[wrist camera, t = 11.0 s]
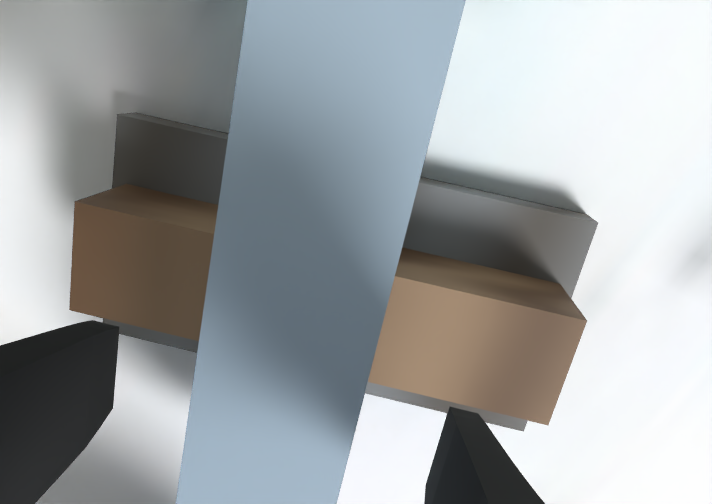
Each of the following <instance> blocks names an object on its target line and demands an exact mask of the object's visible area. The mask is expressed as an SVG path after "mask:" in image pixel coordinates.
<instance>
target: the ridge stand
mask: <svg viewBox="0 0 712 504" xmlns="http://www.w3.org/2000/svg"><path fill="white" fill-rule="evenodd" d="M227 141H228V133H223V132H219V131H214V130H210V129H205V128H201V127H196V126H192V125H188V124H183V123H179V122H174V121H170V120H165V119H161V118H156V117H152V116H148V115H143V114H139V113H127V114H117V128H116V142H115V156H114V171H113V185H112V189H110V190H107V191H104V192H102V193H99V194H96V195H93V196H90V197H87V198H84V199H81V200H78V201H75V208H74V228H73V249H72V269H71V290H70V310H71V311H75V312H80V313H84V314H88V315H92V316H96V317H100V318H103V323H106V324H110V325H114V326H118V327H119V334H122V335H126V336H131V337H135V338H139V339H143V340H147V341H151V342H155V343H160V344H164V345H168V346H172V347H176V348H180V349H184V350H188V351H193V352H197V351H198V344H199V337H200V330H201V323H202V316H203V309H204V302H205V295H206V288H207V281H208V274H209V267H210V260H211V253H212V246H213V239H214V232H215V225H216V218H217V211H218V204H219V197H220V190H221V183H222V176H223V169H224V162H225V155H226V148H227ZM597 225H598V222H596V221H595V220H594V219H592V218H591V217H590V216H588V215H587V214H583V213H578V212H574V211H569V210H565V209H561V208H556V207H552V206H547V205H543V204H538V203H534V202H530V201H525V200H521V199H516V198H512V197H507V196H503V195H498V194H494V193H490V192H485V191H481V190H476V189H472V188H467V187H463V186H458V185H454V184H450V183H445V182H441V181H436V180H432V179H427V178H423V177H420V180H419V184H418V188H417V192H416V195H415V199H414V203H413V207H412V211H411V215H410V219H409V223H408V227H407V231H406V234H405V238H404V242H403V246H402V250H401V254H400V258H399V262H398V266H397V270H396V273H395V277H394V281H393V285H392V289H391V293H390V297H389V301H388V305H387V308H386V312H385V316H384V320H383V324H382V328H381V332H380V336H379V340H378V344H377V347H376V351H375V355H374V359H373V363H372V367H371V371H370V375H369V379H368V383H367V386H366V390H365V393H367V394H371V395H375V396H379V397H383V398H387V399H391V400H395V401H400V402H404V403H408V404H412V405H416V406H420V407H424V408H429V409H433V410H437V411H441V412H445V413H448V410H449V407H454V408H458V409H462V410H466V411H471V412H475V413H478V414H479V415H480V416H481V418H482V419H483V420H484V422H487V423H491V424H495V425H499V426H503V427H507V428H511V429H516V430H520V431H524V429H525V426H526V423H527V420H528V421H533V422H537V423H541V424H545V425H548V424H549V422H550V419H551V416H552V414H553V411H554V408H555V405H556V403H557V400H558V397H559V395H560V392H561V389H562V387H563V384H564V381H565V379H566V376H567V373H568V371H569V368H570V365H571V362H572V360H573V357H574V354H575V352H576V349H577V346H578V344H579V341H580V338H581V336H582V333H583V330H584V328H585V325H586V322H587V320H586V319H585V317H584V316H583V315H582V313H581V312H580V310H579V309H578V308H577V306H576V305H575V304H574V302H573V301H572V299H571V297H572V295H573V292H574V289H575V286H576V283H577V281H578V278H579V275H580V272H581V269H582V267H583V264H584V261H585V258H586V255H587V253H588V250H589V247H590V244H591V241H592V239H593V236H594V233H595V230H596V227H597Z"/></svg>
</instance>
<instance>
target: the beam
mask: <svg viewBox="0 0 712 504" xmlns="http://www.w3.org/2000/svg"><path fill="white" fill-rule="evenodd" d="M465 1H466V0H248V2H247V9H246V16H245V23H244V30H243V37H242V44H241V50H240V57H239V64H238V71H237V78H236V85H235V92H234V99H233V106H232V113H231V120H230V127H229V134H228V141H227V148H226V155H225V162H224V169H223V176H222V183H221V190H220V197H219V204H218V211H217V218H216V225H215V232H214V239H213V246H212V253H211V260H210V267H209V274H208V281H207V288H206V295H205V302H204V309H203V316H202V323H201V330H200V337H199V344H198V351H197V358H196V365H195V372H194V379H193V386H192V393H191V400H190V407H189V414H188V421H187V428H186V435H185V442H184V449H183V456H182V463H181V470H180V477H179V484H178V491H177V498H176V504H336V503H337V499H338V496H339V492H340V488H341V484H342V480H343V476H344V472H345V468H346V464H347V460H348V457H349V453H350V449H351V445H352V441H353V437H354V433H355V429H356V425H357V421H358V418H359V414H360V410H361V406H362V402H363V398H364V394H365V390H366V386H367V383H368V379H369V375H370V371H371V367H372V363H373V359H374V355H375V351H376V347H377V344H378V340H379V336H380V332H381V328H382V324H383V320H384V316H385V312H386V308H387V305H388V301H389V297H390V293H391V289H392V285H393V281H394V277H395V273H396V270H397V266H398V262H399V258H400V254H401V250H402V246H403V242H404V238H405V234H406V231H407V227H408V223H409V219H410V215H411V211H412V207H413V203H414V199H415V195H416V192H417V188H418V184H419V180H420V176H421V172H422V168H423V164H424V160H425V156H426V153H427V149H428V145H429V141H430V137H431V133H432V129H433V125H434V121H435V118H436V114H437V110H438V106H439V102H440V98H441V94H442V90H443V86H444V82H445V79H446V75H447V71H448V67H449V63H450V59H451V55H452V51H453V47H454V43H455V40H456V36H457V32H458V28H459V24H460V20H461V16H462V12H463V8H464V5H465Z"/></svg>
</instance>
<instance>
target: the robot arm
mask: <svg viewBox="0 0 712 504" xmlns="http://www.w3.org/2000/svg"><path fill="white" fill-rule="evenodd" d="M118 339H119V327H118V326H114V325H110V324H106V323H101V322H97V321H93V320H92V321H86V322H81V323H77V324H73V325H69V326H66V327H62V328H59V329H55V330H52V331H48V332H45V333H41V334H38V335H35V336H31V337H28V338H24V339H21V340H18V341H14V342H11V343H7V344H4V345H1V346H0V504H35V503H36V502H37V500H38V499H39V498H40V497H41V496H42V495H43V494H44V493H45V492H46V491H47V490H48V489H49V487H50V486H51V485H52V484H53V483H54V482H55V481H56V480H57V479H58V478H59V477H60V475H61V474H62V473H63V472H64V471H65V470H66V469H67V468H68V467H69V465H70V464H71V463H72V462H73V461H74V460H75V459H76V458H77V457H78V455H79V454H80V453H81V452H82V451H83V450H84V449H85V448H86V446H87V445H88V443H89V442H90V441H91V439H92V438H93V436H94V435H95V434H96V432H97V431H98V430H99V428H100V427H101V425H102V424H103V422H104V421H105V419H106V418H107V416H108V415H109V413H110V412H111V410H112V409H113V400H114V388H115V376H116V363H117V351H118ZM425 504H545V503H544V502H543V501H542V499H541V498H540V497H539V496H538V495H537V493H536V492H535V491H534V489H533V488H532V487H531V486H530V484H529V483H528V482H527V480H526V479H525V478H524V477H523V475H522V474H521V473H520V471H519V470H518V468H517V467H516V466H515V464H514V463H513V462H512V460H511V459H510V457H509V456H508V455H507V453H506V452H505V450H504V449H503V448H502V446H501V445H500V443H499V442H498V440H497V439H496V438H495V436H494V435H493V433H492V432H491V430H490V429H489V427H488V426H487V424H486V423H485V422H484V420H483V419H482V418H481V416H480V415H479V414H478V413H475V412H471V411H466V410H462V409H458V408H454V407H449V410H448V413H447V417H446V420H445V423H444V427H443V430H442V433H441V437H440V440H439V443H438V446H437V450H436V453H435V456H434V460H433V463H432V466H431V470H430V473H429V476H428V480H427V483H426V489H425Z"/></svg>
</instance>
